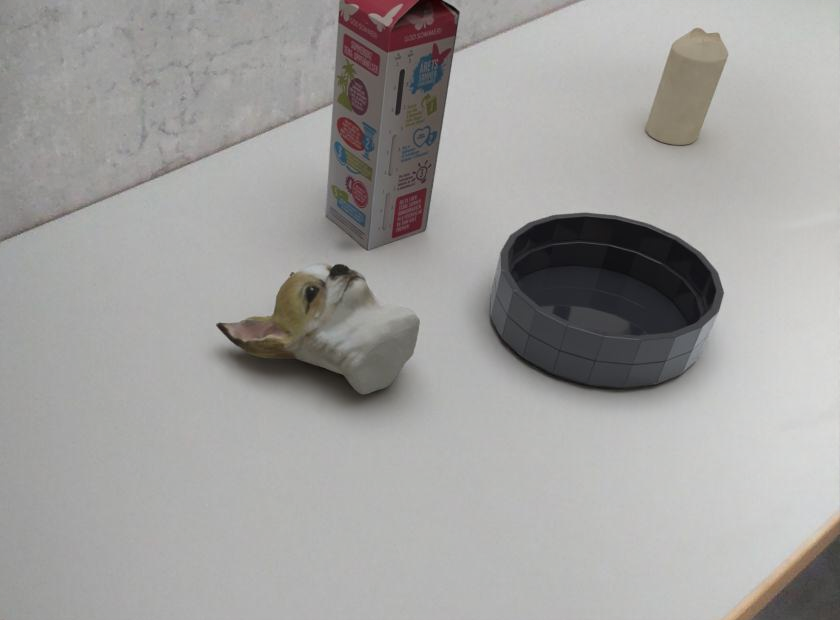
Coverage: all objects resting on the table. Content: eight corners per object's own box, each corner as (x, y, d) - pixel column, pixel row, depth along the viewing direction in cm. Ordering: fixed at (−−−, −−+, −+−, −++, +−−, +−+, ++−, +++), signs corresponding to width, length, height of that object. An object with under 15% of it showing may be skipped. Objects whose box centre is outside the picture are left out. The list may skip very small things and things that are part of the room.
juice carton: (382, 196, 90) (412, -66, 74) (426, 230, 87) (467, -38, 70) (325, 215, 88) (342, -53, 71) (367, 250, 84) (395, -23, 68)
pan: (602, 245, 86) (618, 194, 82) (745, 352, 77) (770, 300, 73) (448, 295, 80) (457, 243, 76) (581, 418, 71) (600, 365, 67)
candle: (635, 124, 102) (666, 25, 94) (679, 118, 103) (713, 20, 96) (663, 148, 99) (697, 48, 91) (708, 142, 100) (745, 42, 92)
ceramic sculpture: (375, 334, 62) (204, 260, 68) (369, 436, 68) (212, 360, 74) (461, 266, 68) (296, 203, 74) (448, 366, 74) (296, 300, 80)
